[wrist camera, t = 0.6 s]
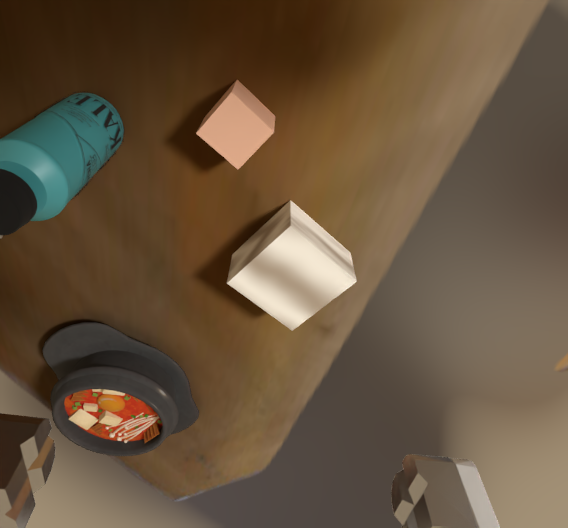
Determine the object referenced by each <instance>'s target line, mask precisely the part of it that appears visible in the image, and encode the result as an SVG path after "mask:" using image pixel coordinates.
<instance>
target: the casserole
mask: <svg viewBox="0 0 568 528" xmlns="http://www.w3.org/2000/svg"><path fill="white" fill-rule="evenodd" d="M43 356H44V358H45V360H46V361H47V363H48V365H49V366H50V367H51V368H52V370H53V371H54V372H55V373H56V375H57V378H58V380H59V381H58V382H57V383H56V384H55V385H54V387H53V389H52V391H51V399H50V400H51V405H52V416H53V421H54V423H55V424H56V426H57V428H58V429H59V430H60V432H61V433H62V434H63V435H64V436H66V437H67V438H68V439H69V440H70V441H72V442H74V443H75V444H77V445H79V446H81V447H83V448H85V449H87V450H90V451H93V452H96V453H101V454H106V455H112V456H133V455H140V454H143V453H147V452H149V451H151V450H153V449H155V448H156V447H158V446H159V445H160V444H161V443H162V442H163V441H164V439H165V438H166V437H168V436H169V435H171V434H174V433H178V432H180V431H182V430H184V429H186V428H188V427H189V426H191V425H192V424H193V423H194V422H195V421H196V420H197V419H198V415H199V411H198V409H197V406H196V404H195V402H194V400H193V398H192V395H191V390H190V385H189V381H188V378H187V376H186V375H185V373H184V371H183V370H182V369H181V367H180V366H179V365H178V364H177V363H176V362H175V361H174V360H173V359H171V358H170V357H169V356H168V355H166V354H165V353H163V352H161V351H160V350H158V349H156V348H154V347H151V346H149V345H146V344H144V343H141V342H139V341H136V340H134V339H131V338H129V337H128V336H126V335H124V334H123V333H121V332H119V331H117V330H116V329H114V328H112V327H110V326H108V325H105V324H101V323H97V322H84V323H78V324H73V325H70V326H67V327H64V328H62V329H60V330H58V331H57V332H55V333H54V334H52V335H51V336H50V337H49V338H48V340H47V341H46V342H45V344H44V346H43Z"/></svg>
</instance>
